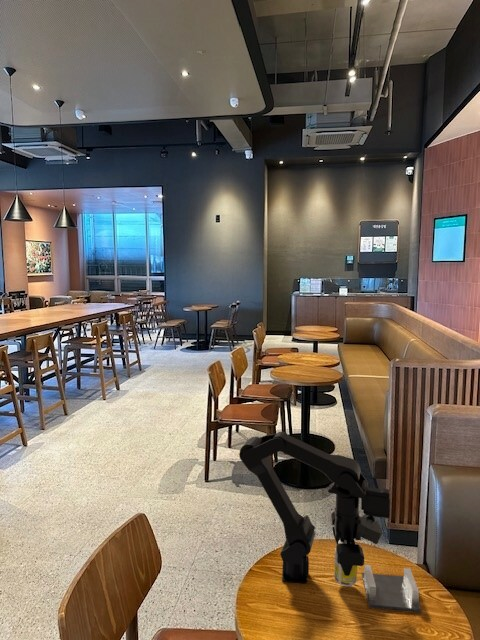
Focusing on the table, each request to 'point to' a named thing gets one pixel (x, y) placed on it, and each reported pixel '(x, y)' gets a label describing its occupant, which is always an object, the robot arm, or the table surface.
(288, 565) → the robot arm
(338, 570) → the supplement bottle
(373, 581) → the grey u-shaped holder
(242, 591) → the table surface
